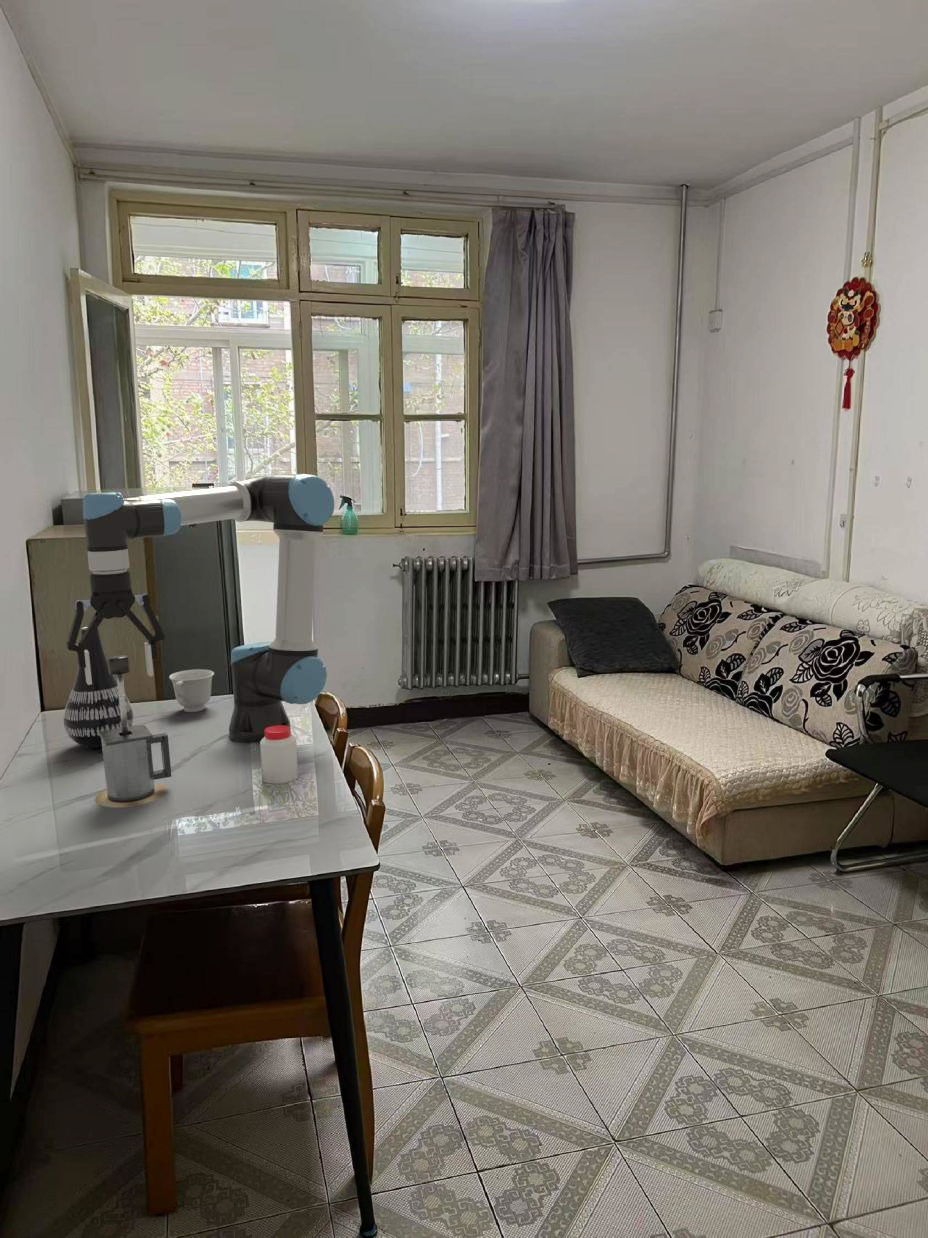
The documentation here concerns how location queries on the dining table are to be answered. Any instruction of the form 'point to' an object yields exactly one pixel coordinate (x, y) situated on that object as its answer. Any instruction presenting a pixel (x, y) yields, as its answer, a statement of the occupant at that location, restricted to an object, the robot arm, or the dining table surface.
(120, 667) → the plunger
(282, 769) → the pill bottle
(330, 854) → the dining table surface
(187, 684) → the teacup
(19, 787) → the dining table surface
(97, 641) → the vase
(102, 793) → the ring
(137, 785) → the french press
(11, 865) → the dining table surface
